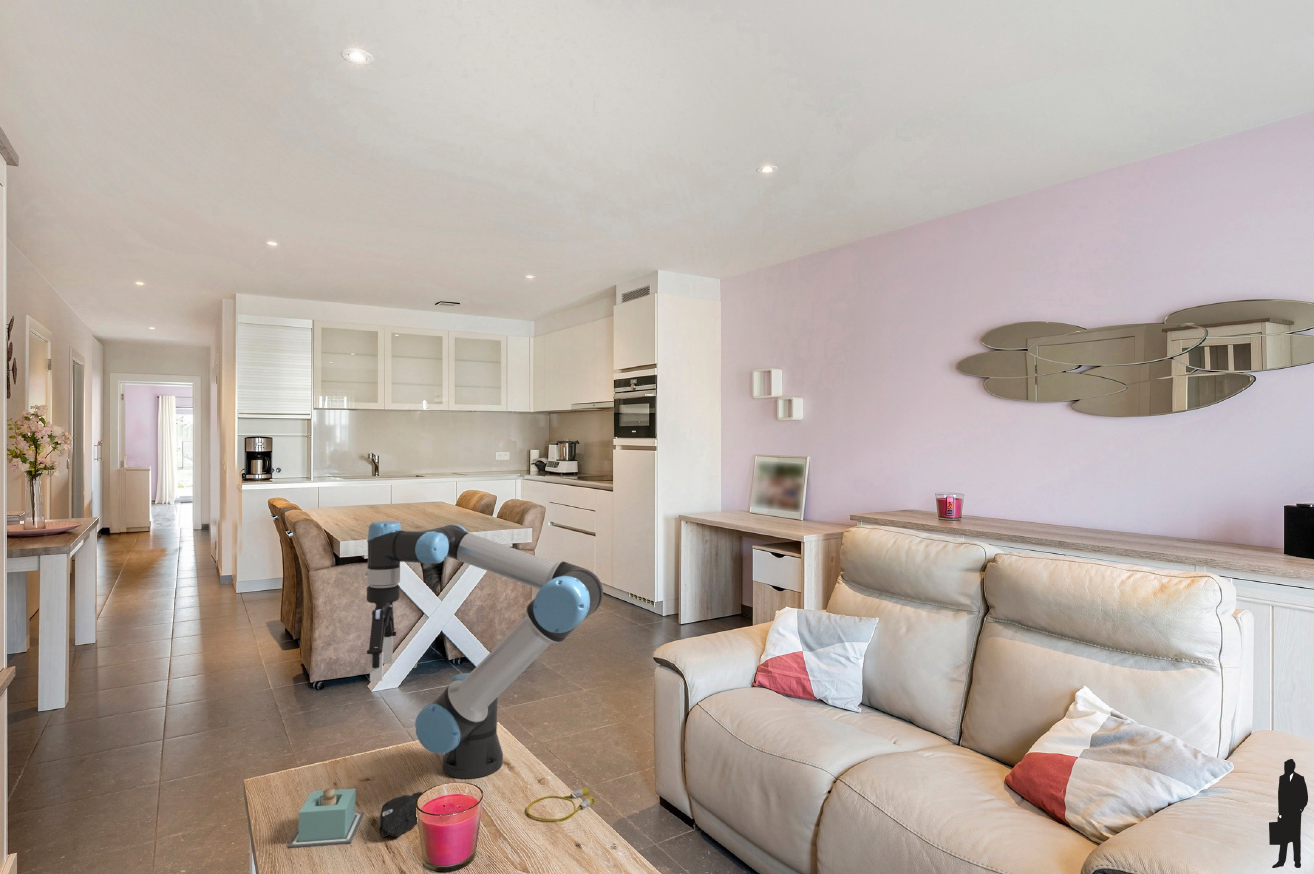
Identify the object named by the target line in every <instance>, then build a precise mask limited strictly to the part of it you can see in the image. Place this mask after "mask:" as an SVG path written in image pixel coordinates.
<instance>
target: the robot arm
mask: <svg viewBox="0 0 1314 874" xmlns="http://www.w3.org/2000/svg"><path fill="white" fill-rule="evenodd" d="M401 525H402V524H401V523H400V522H398V521H392V520H389V521H388V520H385V521H375V522H372V523H370V524H369V526H368V535H367V541H366V542H367V571H365V572H364V575H365V576H367V579H366V582H367V585H368V586H367V587H366V602H367V603H370V604H375V608H374V609H373V610H372V612H371V614H372V617H371V629H370V637H369V647H368V649H367V650H366V654H367V655H370V657H369V659H370V664H369V666H370V667H369V681H370V682H382V681H383V679H384V677H383V675H384V664H393V650H394V643H393V641H394V637H396V636H397V631H395V622H394V621H395V620H394V619H395V618H394V605H393V604H394V602H397V601H398V600H400V587H401V586H400V585H399V583H400V582H401V562H403V563H418V564H425V565H430V564H440V563H442V562H443V561H444V560H445V559H446V557H448V558H450V559H453V560H457V561H459V562H462V563H465V564H467V565H470V566H473V567H475V568H478V569H481V570H484V571H487V572H489V573H493V574H495V575H497V576H500V577H503V578H506V579H509V580H512V581H513V582H517V583H520V584H522V585H525V586H528V587H531V588H534V589H536V590H538V591H537V593H536V595H535V597H534V598H533V599H532V600H531V601H530V602H529V603H528V605H527V606H526V608H525V614H526V616H524V618H523V619H522V620H520V622H519V623H518V624H517V625H516V626H515V627H514V628H513V629H512V630H511V631H510V632H509V633H508V634H507V635H506V636H505V637H504V638H503V639H502V640H501V641H500V642H499V643H498V644H497V645H496V646H495V647H494V649H492V650H491V651H490V652H489V653H488V655H487V656H485V658H483V659H482V660H481V662H480V663H479V664H477V665H476V667H474V668H473V670H472V671H470V672H468V673H467V672H466V673H459V674H456V675H455V676H453V677H452V678H451V682H450V684H449V685H448V686H447V687H446V688H445V689H444V690H443V691H442V692H441V693H440V694H439V695H438V696H437V697H436V698H435V699H434V700H432V702H431V703H429V704H427V705H425V706H423V708H422V709H421V710H420V711H419V712H418V714H417V716H416V718H415V724H414V726H415V734H416V737H417V739H418V742H419V743H420V744H421V745H422V747H424V748H425V750H427V751H428V752H430V753H432V754H437V755H443V757H442V762H441V763H442V769H441V770H442V771H443V773H444V774H446V775H448V776H450V777H453V778H457V779H476V778H482V777H486V776H489V775H491V774H494V773H496V771H498V770H500V769H501V768H502V766H503V765H504V764H503V763H504V753H503V748H502V746H501V743H500V740H499V737H498V731H497V730H498V729H497V728H498V727H497V726H498V701H499V700H498V699H499V698H498V697H499V696H500V695H501V694H502V693H503V692H504V691H505V690H506V689H507V688H508V687H509V686H510V685H511V684H512V683H513V682H514V681H515V680H517V678H518V677H519V676H520V675H521V674H522V673H523V672H524V671H526V669H527V668H528V667H530V665H531V664H532V663H533V662H534V661H535V660H536V659H537V658H538V657H539V656H540V655H541V654H542V653H543V652H544V651H545V650H546V649H547V648H549V647H550V645H551V644H552V643H553V644H559V643H563V641H564V640H565V639H566V638H567V637H569V636H570V634H572V632H573V631H574V630H575V629H576V628H578V626H579V625H580V624H582V622H583V621H585V620H586V619H587V618H588V617H590V616H591V615H593V614H594V613H595V612H596V611H597V610H598V609H599V607H600V606H601V604H602V602H603V598H604V588H603V584H602V582H601V580H600V578H599V576H597V575H596V574H595V573H594V572H593V571H591V570H589V569H587V568H584V567H581V566H579V565H576V564H572V563H569V562H566V561H563V560H561V561H559V562H554V561H552V560H551V561H550V560H549V559H545V558H543V557H539V556H536V555H533V554H531V553H528V552H525V551H523V550H519V549H517V548H513V547H511V546H507V545H505V544H502V543H499V542H497V541H494V540H491V539H487V538H485V537H482V536H480V535H475V534H473V533H471V532H468V530H467V529H466V528H465V527H464V526H462V525H459V524H446V525H444V526H441V527H437V528H431V529H426V530H420V531H419V530H418V531H415V530H414V531H413V530H402V526H401Z"/></svg>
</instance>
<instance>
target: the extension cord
mask: <svg viewBox="0 0 1314 874" xmlns="http://www.w3.org/2000/svg"><path fill="white" fill-rule="evenodd" d="M571 793H572V794H574V795H575V796H576V797H577V798H575V797H574V796H573V795H572V794H571ZM571 793H570V795H566V796H565V795H564V796H559V795H545V796H543V797H539V798H538V799H535V800H534V801H532V802H530V804H528V805H527V806H526V809H525V810H526V814H527V816H528V818H530V819H532V820H533V821H538V822H544V823H560V822H566V821H567V820H569V819H571V818H572V817H573V816H574V815H575V814H576V812H578V811H579V810H580V809H581V810H584V809H587V808H589V807H590V806H591V805H593V804H595V798H594V797H593V796H589V794H590V793H589V789H588V788H583V789H582V788H580V789H577V790H575V791H573V792H571ZM586 796H588V797H587V798H585V799H583V800H582V802H581V803H580V804H579V805H578V808H576V804H575V802H574V800H572V799H579V798H582V797H586ZM549 798H557V799H562V800H567V801H569V802H571V803H572V804H573V808H574V809H573V811H572V812H571V813H569V814H568V815H566V816H564V817H561V818H546V817H545V818H544V817H538V816H535V815H533V814H532V813H530V812H529V811H530V809H531V807H532V806H533V805H534V804H535V803H536V804H537V803H538V802H540V801H543V800H546V799H549ZM582 803H583V804H585V805H586V807H587V808H586V807H585V806H584V805H583V804H582Z"/></svg>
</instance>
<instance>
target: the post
mask: <svg viewBox="0 0 1314 874" xmlns="http://www.w3.org/2000/svg"><path fill="white" fill-rule="evenodd" d="M334 790H335V788H332V787H330V788H326V789H324V790H322V791H323V797H322V798H321V806H326V805H336V795H334Z"/></svg>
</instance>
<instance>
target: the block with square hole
mask: <svg viewBox="0 0 1314 874" xmlns="http://www.w3.org/2000/svg"><path fill="white" fill-rule="evenodd" d="M323 791H324V790H313V791H311V793H310V794H309V796H308V797H307V798H306V800H305V802H304V804H303V805H302V807H301V809H300V810H299V812H298V829H299V833H298V842H302V841H316V840H329V839H342V838H345V837H346V834H347V832H348V830H349V828H350V826H351V824H352V822H353V819H354V817H355V813H356V796H357V795H356V794H357V793H356V792H357V790H356V788H345V789H334V795H336V805H326V806H321V798H322V797H323Z"/></svg>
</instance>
